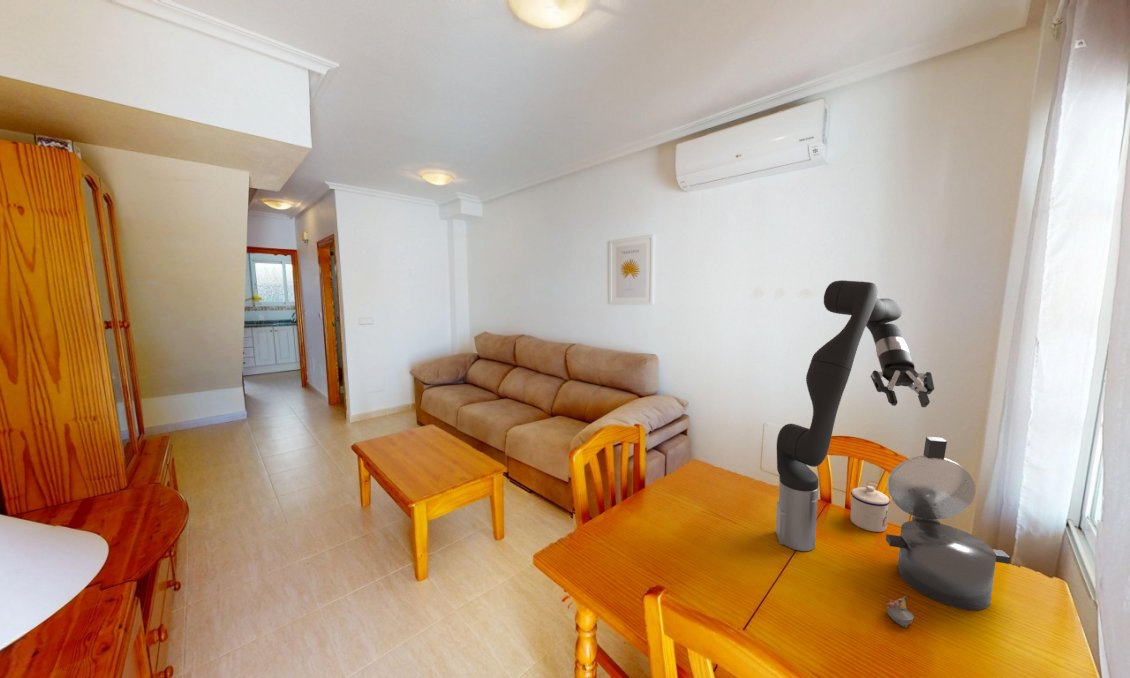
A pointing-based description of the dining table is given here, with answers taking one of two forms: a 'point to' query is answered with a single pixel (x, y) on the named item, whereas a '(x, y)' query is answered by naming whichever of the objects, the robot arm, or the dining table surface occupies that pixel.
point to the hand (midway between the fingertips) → (909, 405)
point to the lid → (931, 484)
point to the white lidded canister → (869, 509)
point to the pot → (946, 563)
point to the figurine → (900, 612)
